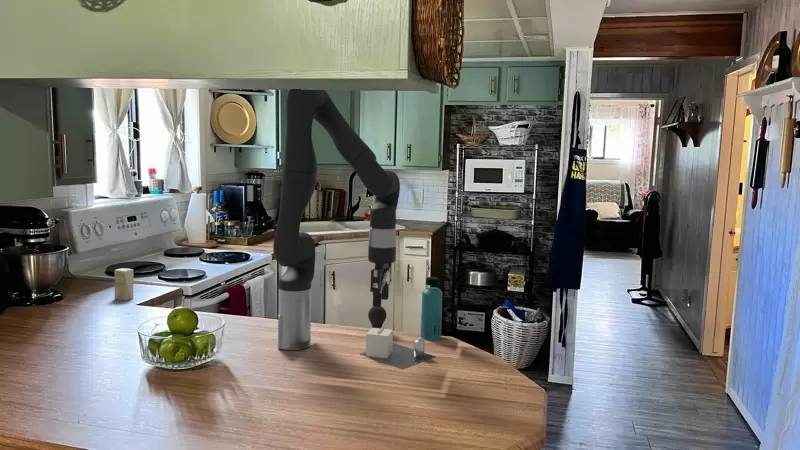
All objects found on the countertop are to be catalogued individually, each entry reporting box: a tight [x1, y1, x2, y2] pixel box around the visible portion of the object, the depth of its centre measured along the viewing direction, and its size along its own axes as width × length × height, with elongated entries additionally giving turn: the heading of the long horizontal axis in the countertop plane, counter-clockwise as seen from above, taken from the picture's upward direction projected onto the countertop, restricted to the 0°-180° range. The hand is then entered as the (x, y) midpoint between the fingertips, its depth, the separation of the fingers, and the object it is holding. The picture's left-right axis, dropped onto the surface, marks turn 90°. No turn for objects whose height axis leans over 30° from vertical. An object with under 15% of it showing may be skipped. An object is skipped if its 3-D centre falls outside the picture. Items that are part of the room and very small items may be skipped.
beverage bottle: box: [420, 276, 443, 342], centre depth 180 cm, size 6×7×20 cm
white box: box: [365, 327, 394, 358], centre depth 165 cm, size 6×6×6 cm
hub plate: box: [359, 338, 437, 371], centre depth 164 cm, size 14×16×6 cm
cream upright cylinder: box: [114, 267, 134, 301], centre depth 220 cm, size 5×4×11 cm
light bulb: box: [367, 305, 387, 329], centre depth 184 cm, size 6×6×10 cm
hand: (380, 302), depth 164 cm, fingers open, 8 cm apart
